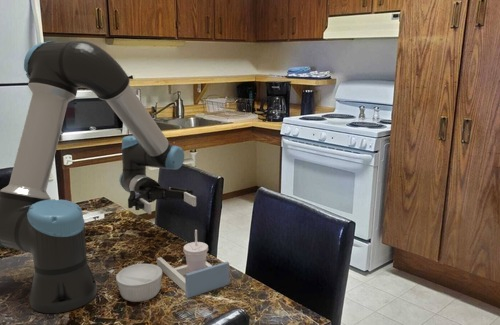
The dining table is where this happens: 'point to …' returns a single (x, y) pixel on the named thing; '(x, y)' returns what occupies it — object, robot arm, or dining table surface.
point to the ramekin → (139, 282)
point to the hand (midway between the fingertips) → (173, 205)
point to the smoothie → (195, 255)
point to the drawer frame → (197, 277)
